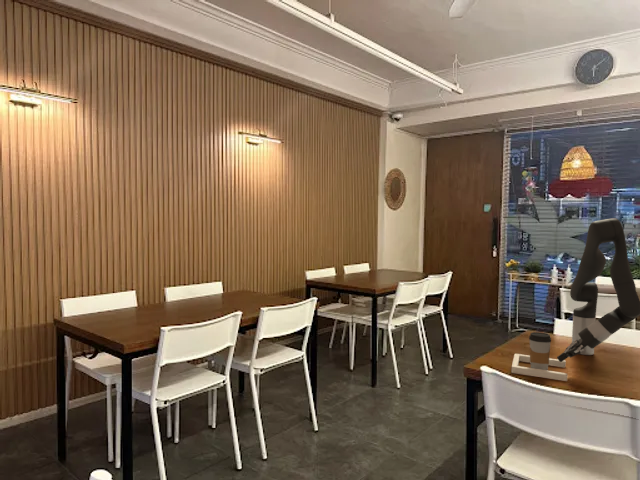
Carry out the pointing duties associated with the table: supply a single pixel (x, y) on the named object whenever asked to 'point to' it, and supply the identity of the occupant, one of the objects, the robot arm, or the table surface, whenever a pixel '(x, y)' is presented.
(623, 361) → the table surface
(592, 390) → the table surface
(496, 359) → the table surface
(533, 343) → the coffee cup
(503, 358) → the table surface
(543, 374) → the frame
